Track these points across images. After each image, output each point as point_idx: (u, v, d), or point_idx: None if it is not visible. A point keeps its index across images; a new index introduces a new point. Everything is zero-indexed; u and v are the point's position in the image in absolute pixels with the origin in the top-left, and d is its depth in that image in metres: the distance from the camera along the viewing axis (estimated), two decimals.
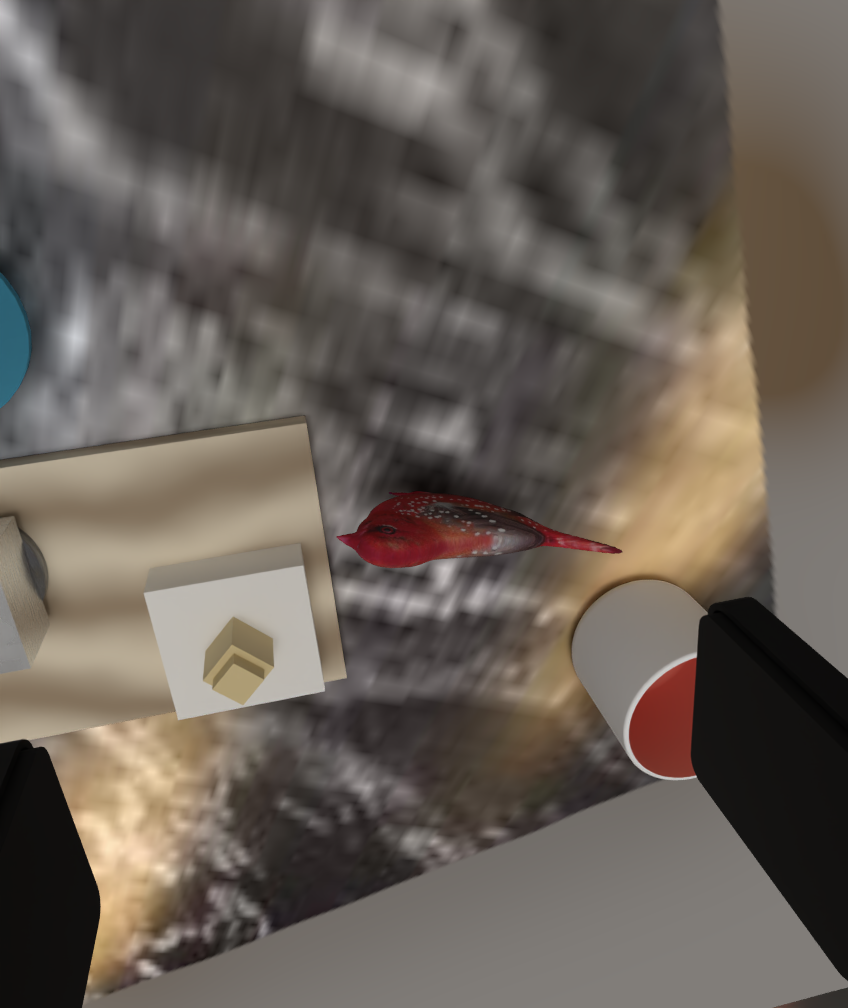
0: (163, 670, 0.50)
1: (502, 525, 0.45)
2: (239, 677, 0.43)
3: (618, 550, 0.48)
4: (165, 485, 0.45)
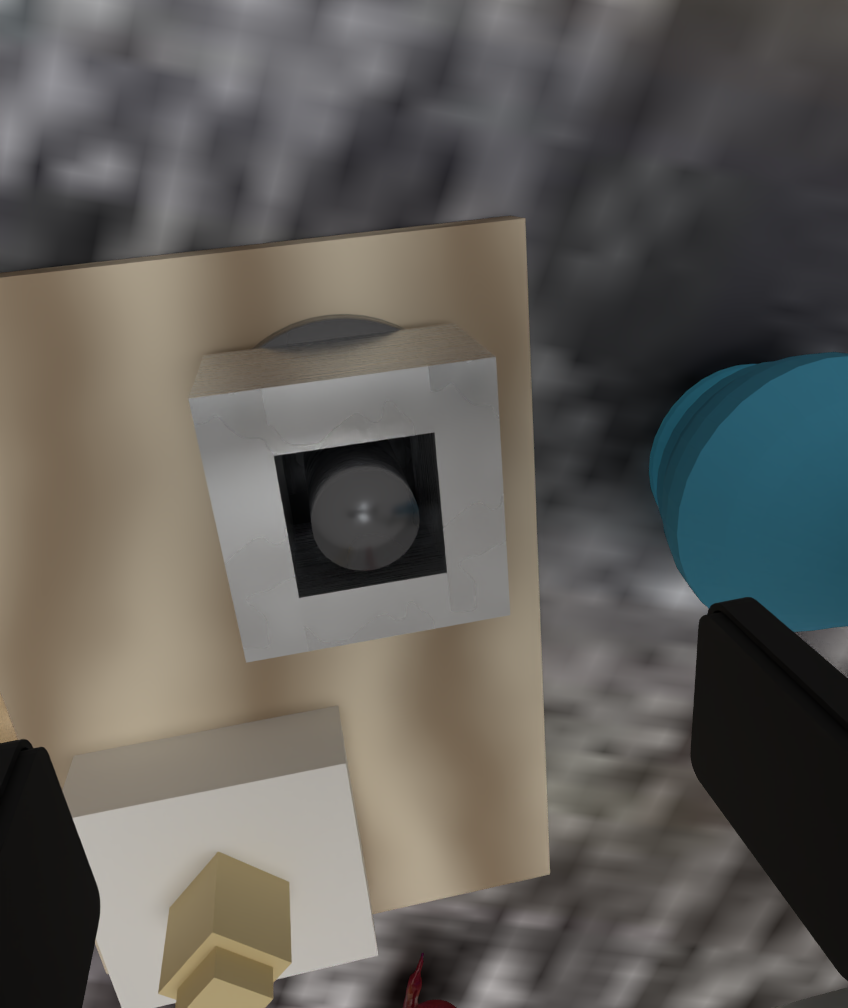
0: (121, 727, 0.27)
1: None
2: None
3: None
4: (480, 723, 0.29)
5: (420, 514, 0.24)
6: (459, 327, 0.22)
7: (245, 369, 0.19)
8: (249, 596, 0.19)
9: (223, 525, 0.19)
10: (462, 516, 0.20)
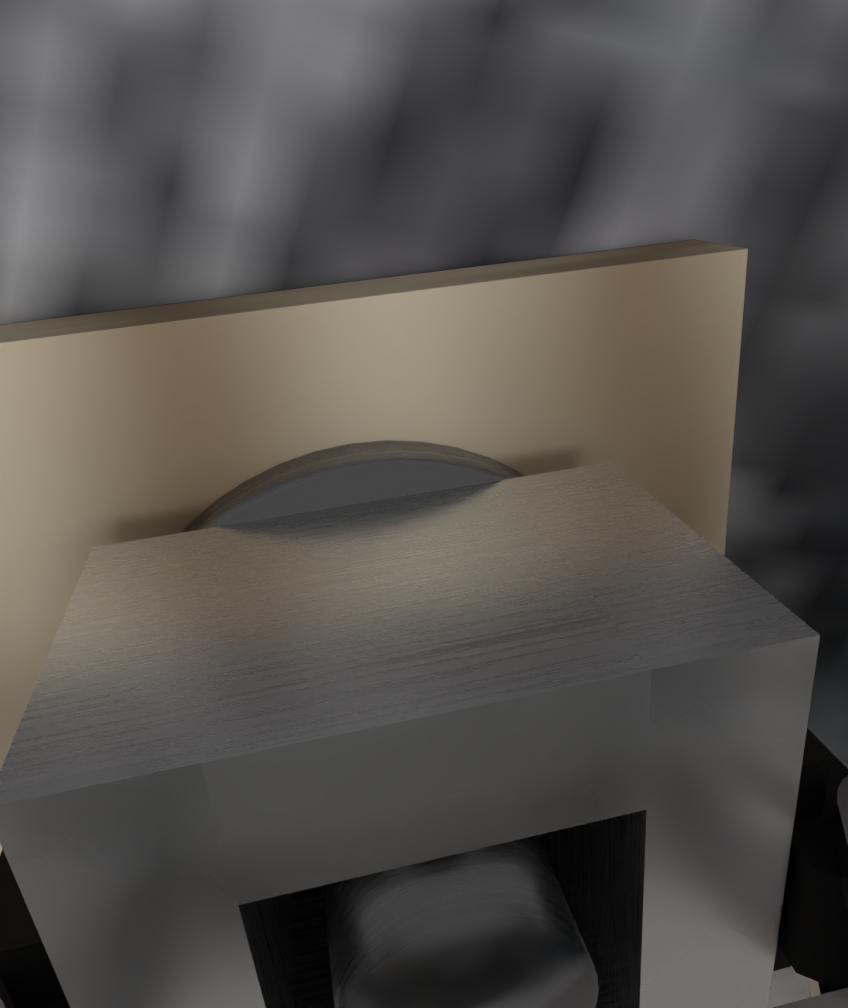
0: None
1: None
2: None
3: None
4: None
5: None
6: None
7: (171, 629, 0.08)
8: None
9: None
10: (686, 959, 0.08)
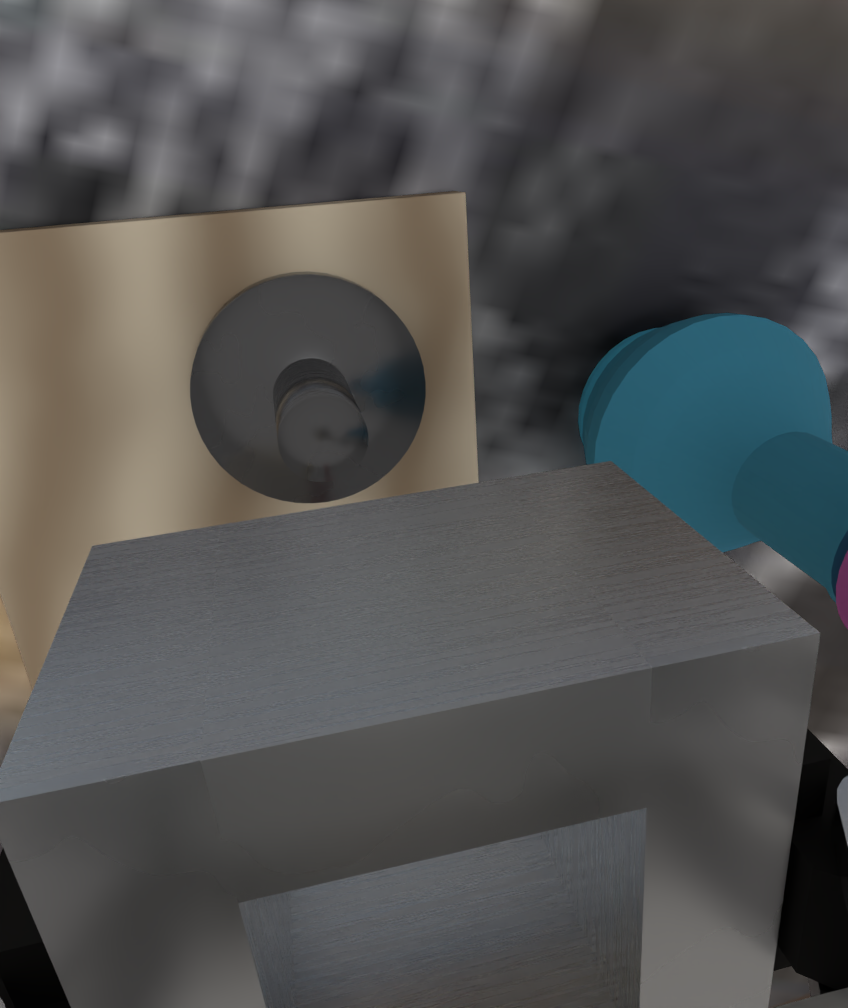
0: None
1: None
2: None
3: None
4: None
5: None
6: None
7: (171, 627, 0.08)
8: None
9: None
10: (686, 957, 0.08)
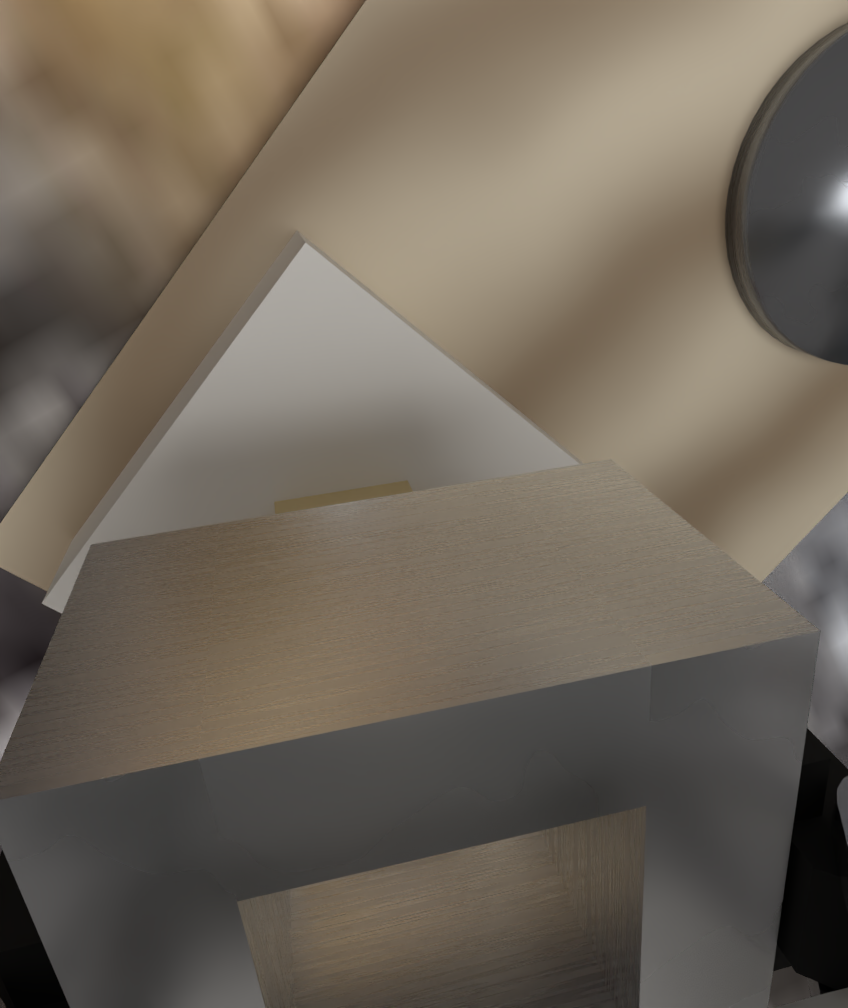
0: (382, 253, 0.18)
1: None
2: None
3: None
4: None
5: None
6: (631, 476, 0.10)
7: (170, 626, 0.08)
8: None
9: None
10: (686, 956, 0.08)
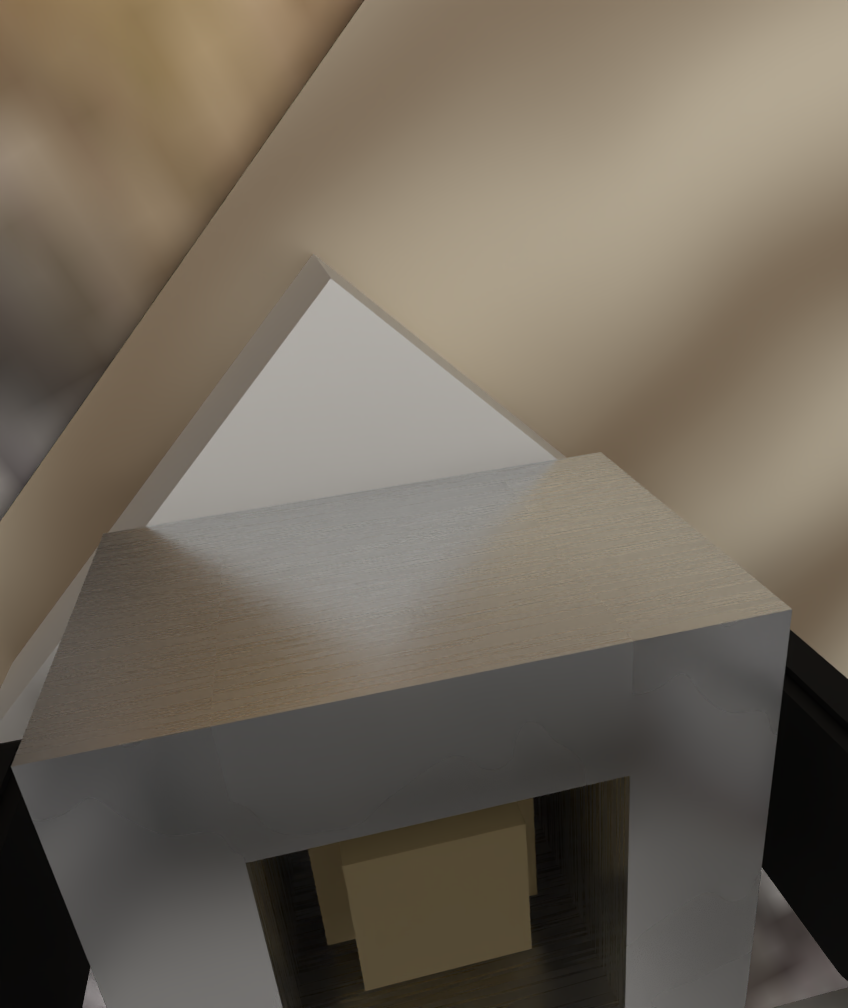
0: (427, 283, 0.13)
1: None
2: (464, 931, 0.09)
3: None
4: None
5: None
6: (620, 468, 0.11)
7: (181, 607, 0.08)
8: None
9: None
10: (670, 921, 0.09)
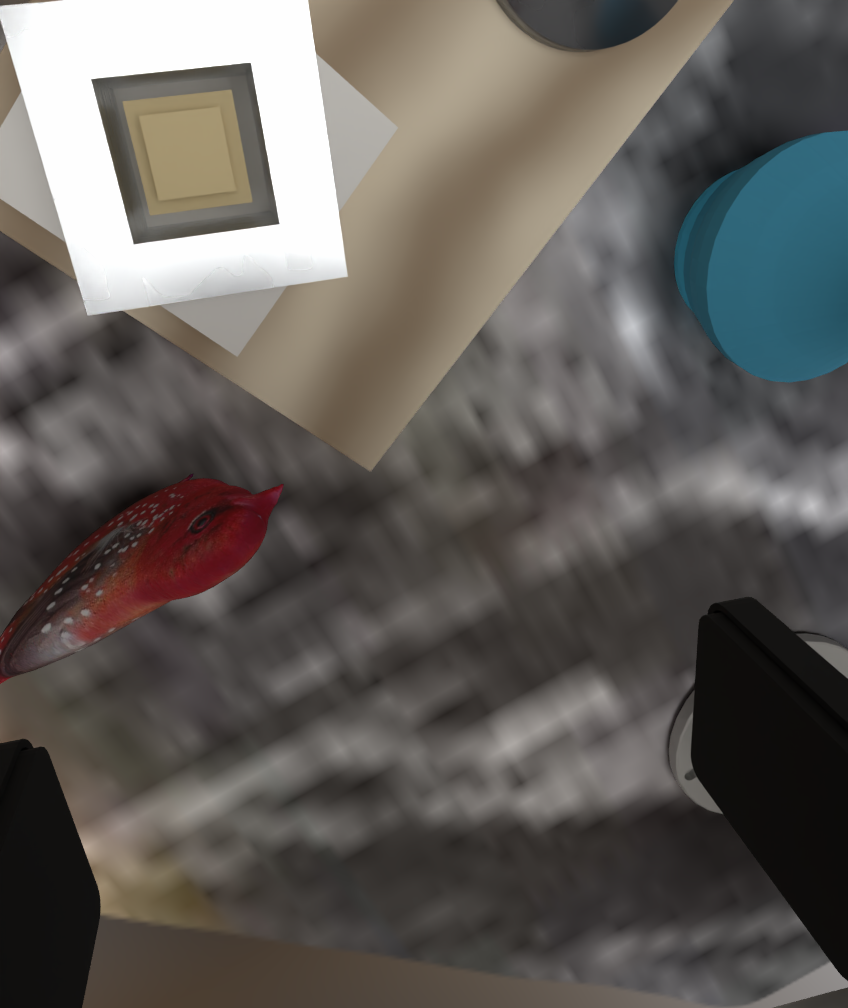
0: None
1: None
2: (201, 170, 0.21)
3: None
4: (452, 266, 0.30)
5: (270, 212, 0.24)
6: None
7: None
8: (83, 239, 0.20)
9: (47, 155, 0.19)
10: (289, 160, 0.20)
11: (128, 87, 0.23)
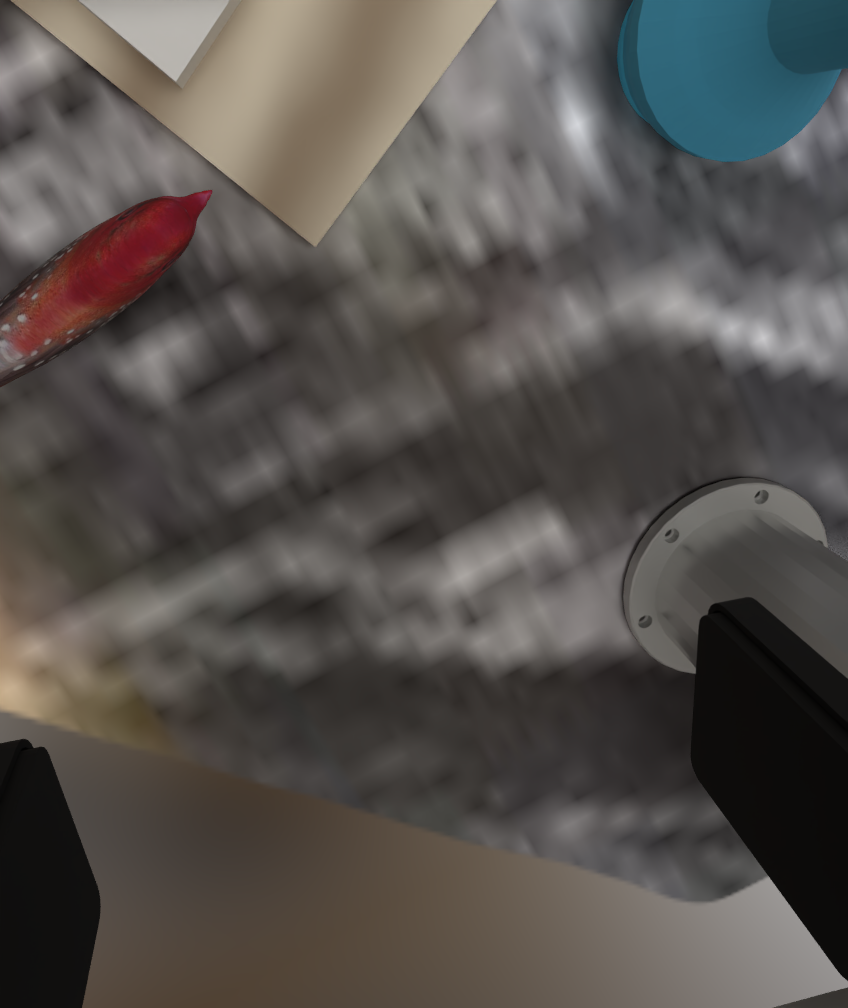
0: None
1: (21, 370, 0.29)
2: None
3: None
4: (393, 31, 0.31)
5: None
6: None
7: None
8: None
9: None
10: None
11: None
